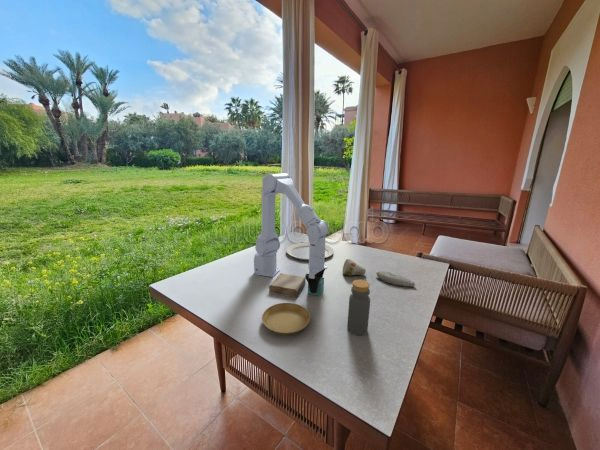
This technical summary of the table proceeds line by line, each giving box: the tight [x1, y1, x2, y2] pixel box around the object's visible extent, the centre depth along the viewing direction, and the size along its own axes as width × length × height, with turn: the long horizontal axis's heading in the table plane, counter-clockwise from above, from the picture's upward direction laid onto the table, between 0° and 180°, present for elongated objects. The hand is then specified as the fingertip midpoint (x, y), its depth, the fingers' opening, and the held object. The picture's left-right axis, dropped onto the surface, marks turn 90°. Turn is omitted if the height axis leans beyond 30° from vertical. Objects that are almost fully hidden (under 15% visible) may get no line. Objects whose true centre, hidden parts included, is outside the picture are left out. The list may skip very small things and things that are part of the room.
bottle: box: [346, 279, 371, 336], centre depth 70 cm, size 6×6×15 cm
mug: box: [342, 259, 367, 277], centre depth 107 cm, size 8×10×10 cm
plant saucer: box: [261, 302, 311, 336], centre depth 75 cm, size 15×15×3 cm
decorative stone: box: [375, 270, 416, 288], centre depth 101 cm, size 6×16×3 cm, turn 57°
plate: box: [286, 241, 334, 261], centre depth 132 cm, size 26×26×2 cm
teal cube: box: [307, 277, 325, 296], centre depth 92 cm, size 5×5×5 cm
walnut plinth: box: [268, 273, 306, 298], centre depth 95 cm, size 11×11×3 cm
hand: (315, 287), depth 93 cm, fingers open, 7 cm apart
